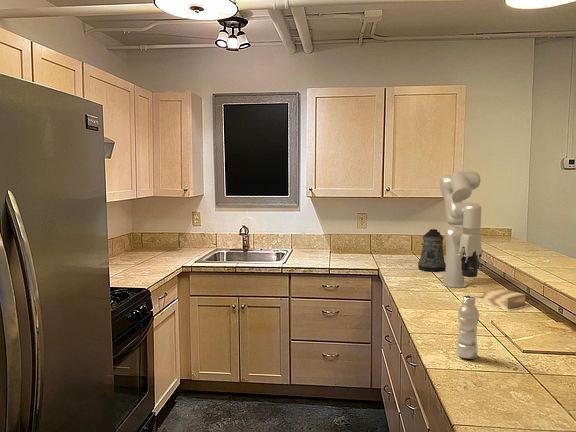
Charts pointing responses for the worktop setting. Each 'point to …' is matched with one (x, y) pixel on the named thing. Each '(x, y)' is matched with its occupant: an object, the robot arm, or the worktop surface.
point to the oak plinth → (504, 298)
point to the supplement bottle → (471, 266)
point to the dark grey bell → (432, 252)
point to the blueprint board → (507, 309)
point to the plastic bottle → (468, 329)
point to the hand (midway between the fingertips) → (469, 269)
